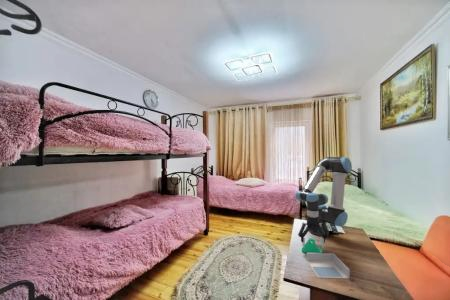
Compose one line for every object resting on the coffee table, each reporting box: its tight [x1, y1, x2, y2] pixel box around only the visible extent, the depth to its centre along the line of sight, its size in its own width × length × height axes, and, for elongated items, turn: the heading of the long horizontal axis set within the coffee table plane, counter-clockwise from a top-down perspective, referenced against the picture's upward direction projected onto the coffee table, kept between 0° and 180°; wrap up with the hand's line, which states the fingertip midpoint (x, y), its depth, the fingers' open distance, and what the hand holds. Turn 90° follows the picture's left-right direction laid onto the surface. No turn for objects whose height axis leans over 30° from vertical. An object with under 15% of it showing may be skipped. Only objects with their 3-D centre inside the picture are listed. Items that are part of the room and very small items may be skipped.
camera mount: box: [301, 237, 323, 254], centre depth 134 cm, size 12×8×10 cm, turn 57°
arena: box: [306, 252, 351, 280], centre depth 115 cm, size 17×17×5 cm
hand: (313, 246), depth 134 cm, fingers open, 12 cm apart
